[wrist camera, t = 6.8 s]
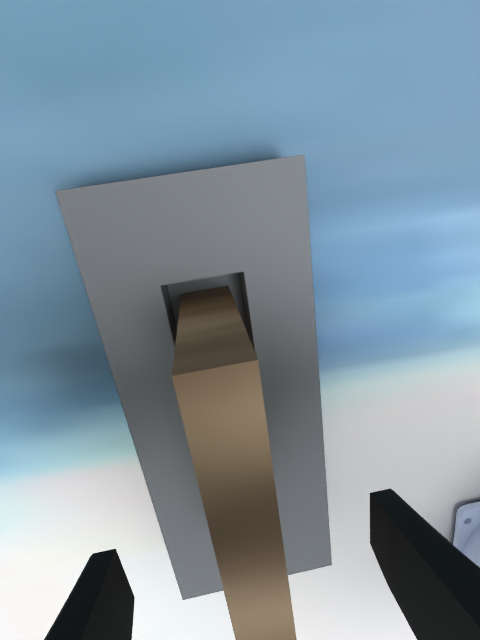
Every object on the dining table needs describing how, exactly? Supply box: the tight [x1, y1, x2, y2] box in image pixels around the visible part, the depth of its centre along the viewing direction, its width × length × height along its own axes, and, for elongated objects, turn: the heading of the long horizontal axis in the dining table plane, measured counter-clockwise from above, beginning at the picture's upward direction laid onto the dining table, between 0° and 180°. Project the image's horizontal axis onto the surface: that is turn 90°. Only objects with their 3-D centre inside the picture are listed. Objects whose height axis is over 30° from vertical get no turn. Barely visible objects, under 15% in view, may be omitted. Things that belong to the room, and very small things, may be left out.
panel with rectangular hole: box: [55, 155, 332, 600], centre depth 16 cm, size 20×8×2 cm, turn 8°
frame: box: [172, 286, 296, 640], centre depth 13 cm, size 11×2×7 cm, turn 8°
